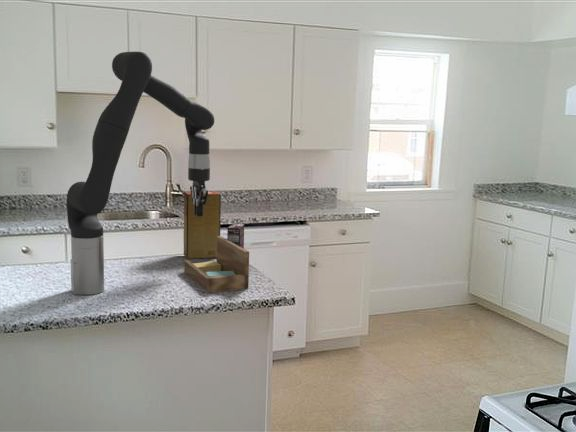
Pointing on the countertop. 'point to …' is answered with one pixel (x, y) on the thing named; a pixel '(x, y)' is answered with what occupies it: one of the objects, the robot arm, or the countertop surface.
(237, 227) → the supplement box
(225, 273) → the book block
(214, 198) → the food packaging
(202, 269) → the ochre book block
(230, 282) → the book rack
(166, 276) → the countertop surface
